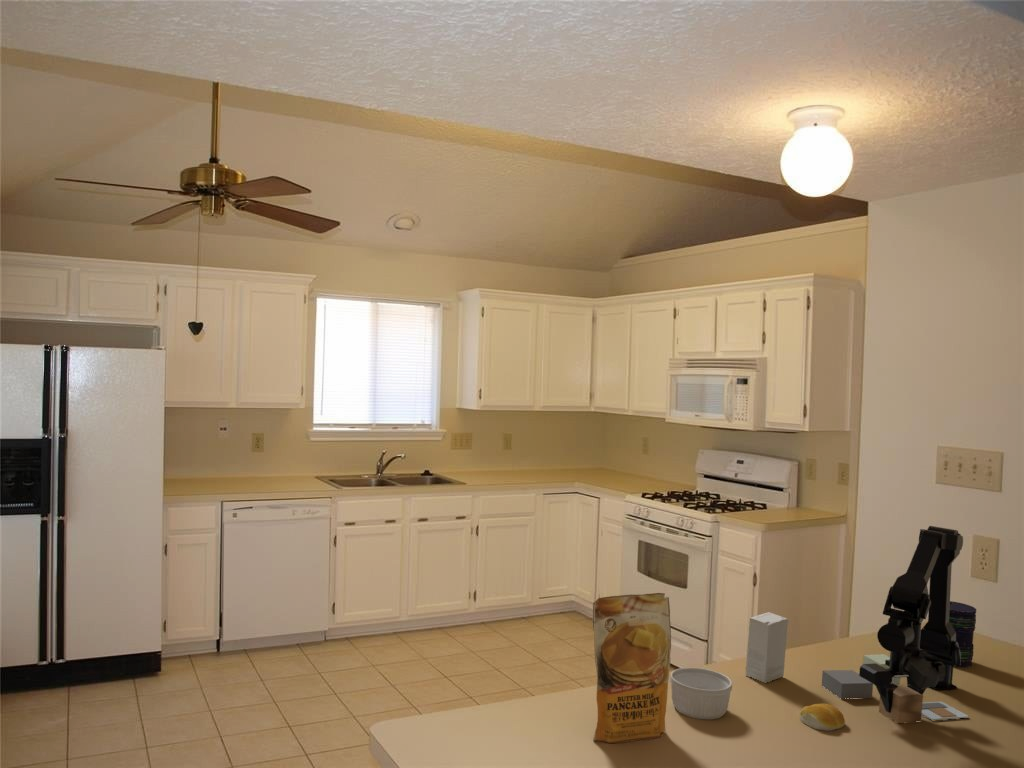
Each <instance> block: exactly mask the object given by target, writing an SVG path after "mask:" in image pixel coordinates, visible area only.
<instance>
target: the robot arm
mask: <svg viewBox="0 0 1024 768" xmlns="http://www.w3.org/2000/svg"><path fill="white" fill-rule="evenodd" d="M963 545H964V537H963V535H962V534H961V533H959V531H958V530H957V529H952V528H945V527H942V526H941V527H940V526H933V525H929V526H928V528H927V529H923V528H921V529H919V535H918V543H917V544H916V548H915V551H914V553H913V556H912V557H911V560H910V562H909V565H908V567H907V570H906V572H905V573H903V574H902V575H900V576H897V578H896V579H895V581H894V583H893V585H892V586H890V587H889V590H888V593H887V596H886V600H885V603H884V607H883V611H882V615H883V616H888V617H889V618H888V621H887V623H885V624H884V625H882V626H880V628H879V629H878V631H877V634H876V636H877V640H878V643H879V644H880V646H881V647H882V648H883V649H884V650H886V651H888V652H889V657H890V660H885V665H887V666H889V669H885V668H884V667H882V666H880V665H878V664H876V663H875V664H863V663H862V664H861V665H860V666H859V673H858V674H859V676H860V677H862V678H864V679H866V680H867V681H869V682H871V683H873V684H874V685H875V686H876V687H875V686H874V685H873V686H874V687H875V688H876V690H877V691H878V694H879V698H880V697H881V699H882V702H883V705H884V707H885V710H886V711H887V712H889V713H890V712H891V708H892V700H893V691H894V690H895V689H896V688H897V687H898V686H897V685H895V684H894V678H897V677H900V678H906V686H907V687H909V688H911V689H913V690H914V691H916V692H918V693H920V694H922V695H923V696H924V693H925V691H926V690H927V689H928V688H932V689H933V690H935V691H942V690H956V689H958V687H957V685H956V684H953V676H954V674H953V673H954V668H956V667H955V666H960V665H961V653H960V649H959V645H958V642H956V632H955V630H954V628H953V627H952V625H951V623H950V622H949V612H950V601H951V591H952V590H951V588H952V568H953V567H952V566H953V565H952V564H953V563H954V562H955V560H956V559H957V557H959V555H960V554H961V551H962V548H963ZM928 583H929V589H928ZM892 606H893V608H892ZM927 616H928V618H927ZM926 619H927V622H926V623H925V624H924V626H922V623H923V621H924V620H926ZM951 657H952V658H951Z"/></svg>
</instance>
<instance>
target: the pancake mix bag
mask: <svg viewBox="0 0 1024 768" xmlns="http://www.w3.org/2000/svg"><path fill="white" fill-rule="evenodd" d="M665 594H666V593H664V592H655V593H644V594H623V595H611V596H605V597H604V596H603V597H598V598H597V599H596V600H595V601H593V603H592V604H593V605H592V630H593V632H594V633H593V636H594V638H593V639H594V641H593V642H594V645H593V646H594V660H595V669H596V676H597V677H596V704H597V722H596V728H595V731H594V735H593V741H598V742H600V741H601V742H603V743H606V744H617V743H629V742H635V741H641V740H651V739H657V738H661V734H663V733H664V732H666V721H665V720H666V712H667V703H668V689H669V680H670V670H671V669H670V667H671V653H672V631H671V630H672V629H671V608H670V597H669V596H665Z"/></svg>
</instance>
